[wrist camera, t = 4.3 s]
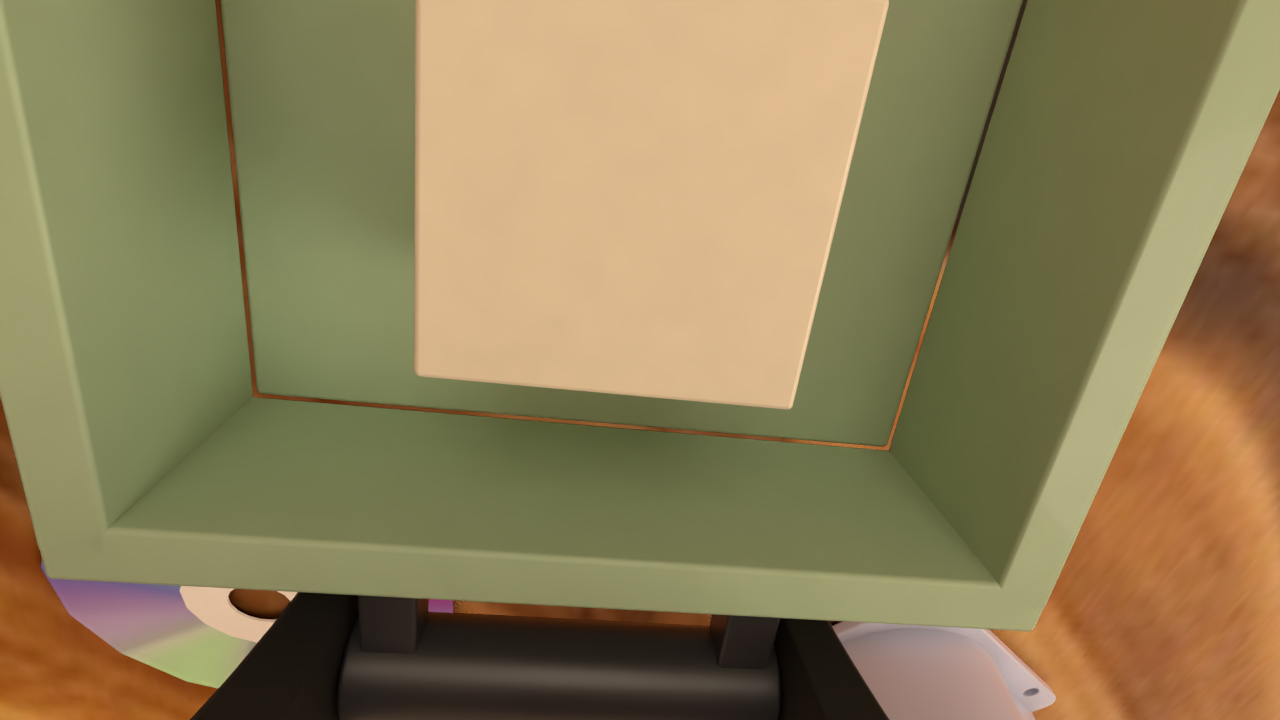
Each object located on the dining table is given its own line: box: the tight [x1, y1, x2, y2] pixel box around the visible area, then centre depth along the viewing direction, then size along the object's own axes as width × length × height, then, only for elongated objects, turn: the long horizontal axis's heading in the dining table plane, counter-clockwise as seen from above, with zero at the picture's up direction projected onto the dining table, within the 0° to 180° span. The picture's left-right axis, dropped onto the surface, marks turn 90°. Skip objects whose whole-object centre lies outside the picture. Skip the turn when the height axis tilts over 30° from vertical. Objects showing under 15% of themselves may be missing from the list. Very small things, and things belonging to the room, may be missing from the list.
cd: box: [41, 560, 453, 688], centre depth 19 cm, size 11×11×1 cm
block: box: [414, 0, 889, 409], centre depth 8 cm, size 4×4×4 cm
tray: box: [0, 0, 1280, 720], centre depth 9 cm, size 13×13×4 cm
